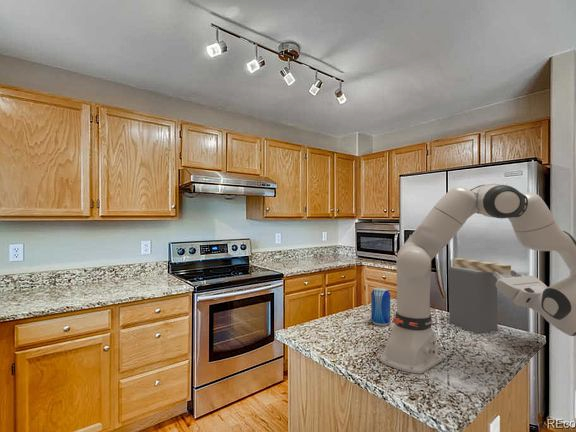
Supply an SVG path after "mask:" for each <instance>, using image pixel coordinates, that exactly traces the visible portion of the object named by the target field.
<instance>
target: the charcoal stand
mask: <svg viewBox="0 0 576 432" xmlns="http://www.w3.org/2000/svg"><path fill="white" fill-rule="evenodd" d="M493 274H494V273H491V272H485V271H479V270H473V269H468V268H462V267H456V266H448V289H449V291H448V293H449V295H448V301H449V302H448V304H449V307H448V308H449V309H448V311H449V313H448V315H449V317H448V318H449V324H451V325H453V326H456V327H459V328H461V329H464V330H466V331H469V332H471V333H474V334H477V335H480V334H484V333H489V332H495V331H498V326H499V325H498V324H499V323H498V322H499V320H498V319H499V318H498V289H497V287H496V285H495V284H496V282H497V281H498V280H497V278H496V277H495V276H494V275H493Z"/></svg>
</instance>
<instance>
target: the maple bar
mask: <svg viewBox="0 0 576 432" xmlns="http://www.w3.org/2000/svg"><path fill="white" fill-rule="evenodd" d="M455 266H456V267H462V268H468V269H473V270H479V271H485V272H491V273H494V272H499V273H500V274H501V275H503V276H506V275H510V274H511V271H512V265H511V264H503V263H497V262H489V261H482V260H476V259H475V260H474V259H467V258H460V257H457V258H452V267H455Z"/></svg>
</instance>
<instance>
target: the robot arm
mask: <svg viewBox="0 0 576 432" xmlns="http://www.w3.org/2000/svg"><path fill="white" fill-rule="evenodd" d="M474 214H479V215H483V216H485V217H488V218H495V219H508V220H509V222H510V223H511V226H512V228H513V231H514V233H515V236H516V238H517V240H518V241H519V243H520V244H521V245H522V246H524V247H525V248H526V249H529V250H532V251H538V252H539V251H540V252H553V251H555V252H557V253H558V254H559V256H560V257H561V259H562V260H563V261H564V263H565V265H566V266H567V268H568V269H569V271H570V273H569V275H568V277H566V278H563V279H562V280H560V281H557V282H555V283H554V284H550V285H549V286H547V285H546V284H545V283H544V282H543V281H542V280H540V279H539V278H538V277H536V276H534V275H524V274H523V273H519V272H517V271H516V270H514V269H513V270H512V269H511V274H509V275H510V276H511V277H504V276H502V274H500V273H499V272H494V274H493V275H494V276H495V277H496V278H497V282H496V284H495V285H496V287H497V290H498V291H500V292H501V293H502V294H503V295H504V296H506V297H507V298H509V299H511V300H512V303H513V304H514V305H515V306H519V307H524V308H528V309H532V310H533V311H534V312H535V313H537V314H539V315H541V316H542V318H544V319H545V321H546V322H548V323H549V324H550V325H551V326H553V327H554V328H556V329H557V330H559V331H560V332H562V333H564V334H565V335H568V336H570V337H575V336H576V239H575V238H574V237H573V235H571V234H570V233H569V232H568V231H565V230H562V229H561V228H560V227H559V225H558V224H557V222H556V221H555V218H554V217H553V214H552V212H551V210H550V209H549V206H548V205H547V204H546V202H545V201H544V200H543V198H542V197H541V196H540V195H539V194H537V193H534V192H533V193H532V192H525V193H524V192H523V193H522V192H520V191H519V190H518V189H517V188H515V187H513V186H510V185H507V184H498V183H489V184H481V185H477V186H475V187H473V188H471V189H468V188H467V187H463V186H455V187H453V188H451V189H449V191H447V192H446V193H445V194H444V195H443V196H442V197H441V198H440V199H439V200H438V201H437V203H435V205H434V206H433V207H432V209H431V210H430V211H429V212H428V214H427V215H426V217H424V219H423V220H422V222H421V223H420V224H419V226H417V228H416V229H415V230H414V231H413V233H412V234H411V235H409V237H408V238H407V240H406V241H405V242H404V243H403V244H402V246H401V247H400V248H399V250H398V252H397V254H396V255H397V256H396V265H395V266H396V312H395V314H394V317H393V318H392V323H393V327H392V330H391V332H390V335H389V337H388V340H387V344H386V346H385V348H384V350H383V352H382V353H381V355H380V357H379V361H380V362H381V363H382V364H384V365H386V366H388V367H391V368H394V369H396V370H399V371H403V372H406V373H407V372H408V373H410V374H411V373H412V374H424V373H425V372H426V371H428V370H429V369H432V367H434V366H436V365H437V364H439V363H441V362H442V361H443V357H442V356H441V355H440V354H438V345H437V334H436V333H435V331H434V330H433V328H432V322H433V318H432V315H431V284H432V283H431V280H432V261H433V259H434V258H435V257H436V256H437V255H438V254H439V253H440V252H441V251H443V249H444V248H445V247H447V245H448V244H449V243H450V242H451V240H452V239H453V238H454V237H455V235H457V234H458V232H459V231H460V229H462V227H463V226H464V225H465V223H466V222H467V220H468V219H469V218H470V217H472V216H473V215H474Z"/></svg>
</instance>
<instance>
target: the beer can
mask: <svg viewBox="0 0 576 432" xmlns="http://www.w3.org/2000/svg"><path fill="white" fill-rule="evenodd" d="M370 295H371V296H370V299H371V300H370V301H371V302H370V304H371V308H370V309H371V310H370V312H371V314H370V315H371V322H372V324H374V325H375V326H378V327H386V326H387V327H388V326H389V324H390V323H391V294H390V291H389V289H388V288H386V287H381V286H380V287H379V286H378V287H373V288H372V291H371V294H370Z"/></svg>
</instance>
